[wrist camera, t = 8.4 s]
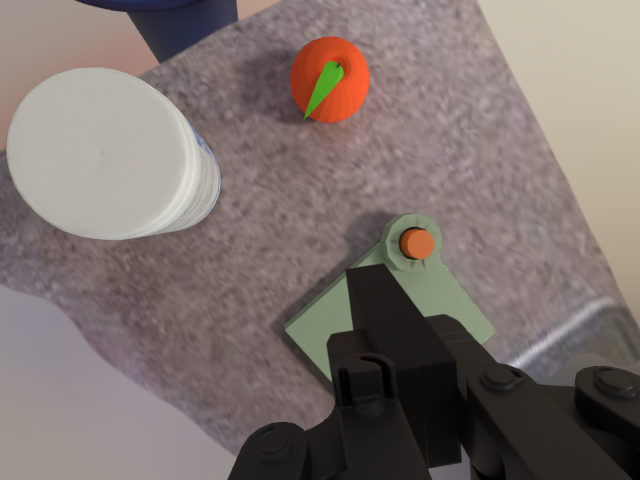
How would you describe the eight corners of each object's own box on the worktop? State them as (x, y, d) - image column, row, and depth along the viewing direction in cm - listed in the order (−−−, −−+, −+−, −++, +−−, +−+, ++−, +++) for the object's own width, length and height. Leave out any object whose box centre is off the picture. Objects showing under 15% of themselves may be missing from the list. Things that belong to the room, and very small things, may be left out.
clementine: (327, 153, 37) (344, 139, 30) (266, 112, 36) (269, 86, 29) (370, 85, 37) (397, 55, 30) (311, 41, 36) (324, -1, 29)
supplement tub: (233, 146, 35) (216, 98, 21) (205, 243, 36) (170, 262, 21) (126, 112, 34) (27, 34, 19) (98, 214, 34) (-22, 213, 19)
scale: (404, 202, 38) (418, 201, 35) (494, 318, 41) (516, 328, 38) (274, 315, 37) (276, 326, 34) (376, 428, 40) (387, 449, 36)
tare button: (414, 223, 36) (423, 224, 34) (431, 244, 36) (440, 245, 34) (394, 241, 35) (401, 243, 34) (411, 262, 36) (418, 264, 34)
